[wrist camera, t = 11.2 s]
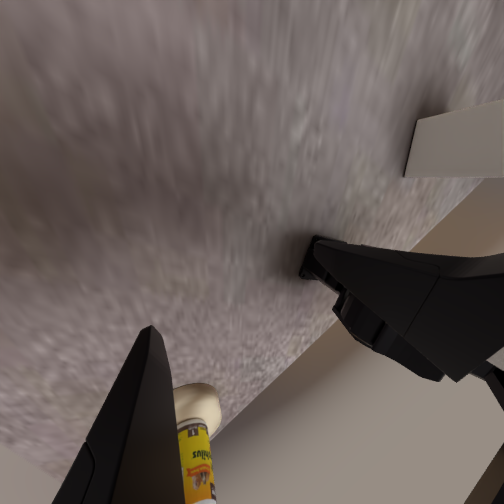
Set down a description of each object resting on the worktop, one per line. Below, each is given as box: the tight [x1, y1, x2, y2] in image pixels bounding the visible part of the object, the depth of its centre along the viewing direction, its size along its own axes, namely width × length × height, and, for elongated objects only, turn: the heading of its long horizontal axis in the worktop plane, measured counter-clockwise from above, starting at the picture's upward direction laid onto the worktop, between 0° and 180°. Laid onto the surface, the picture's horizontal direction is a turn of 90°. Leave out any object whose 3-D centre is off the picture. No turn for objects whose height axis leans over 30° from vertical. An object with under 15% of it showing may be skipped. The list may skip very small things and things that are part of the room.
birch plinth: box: [173, 383, 222, 437], centre depth 26 cm, size 10×10×3 cm
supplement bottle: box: [177, 419, 217, 504], centre depth 20 cm, size 6×6×10 cm
